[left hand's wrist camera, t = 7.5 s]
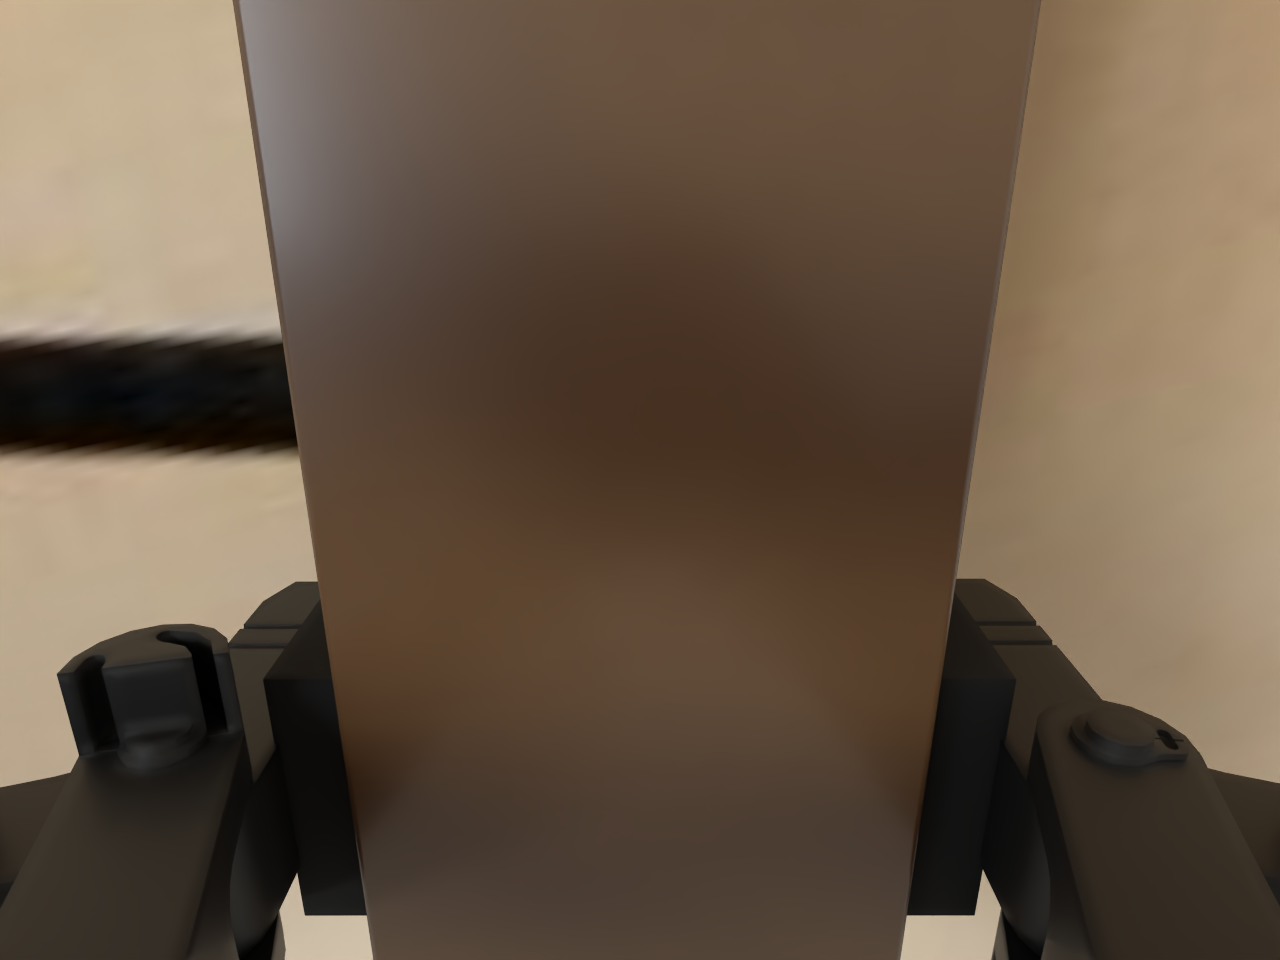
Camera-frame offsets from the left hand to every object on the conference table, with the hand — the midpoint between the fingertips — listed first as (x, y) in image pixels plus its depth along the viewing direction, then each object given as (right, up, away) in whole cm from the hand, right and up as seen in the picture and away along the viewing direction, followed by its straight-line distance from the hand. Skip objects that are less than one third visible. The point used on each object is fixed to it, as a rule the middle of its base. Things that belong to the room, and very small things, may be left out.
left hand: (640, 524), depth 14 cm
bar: (0, +20, -7) cm, 21 cm away
